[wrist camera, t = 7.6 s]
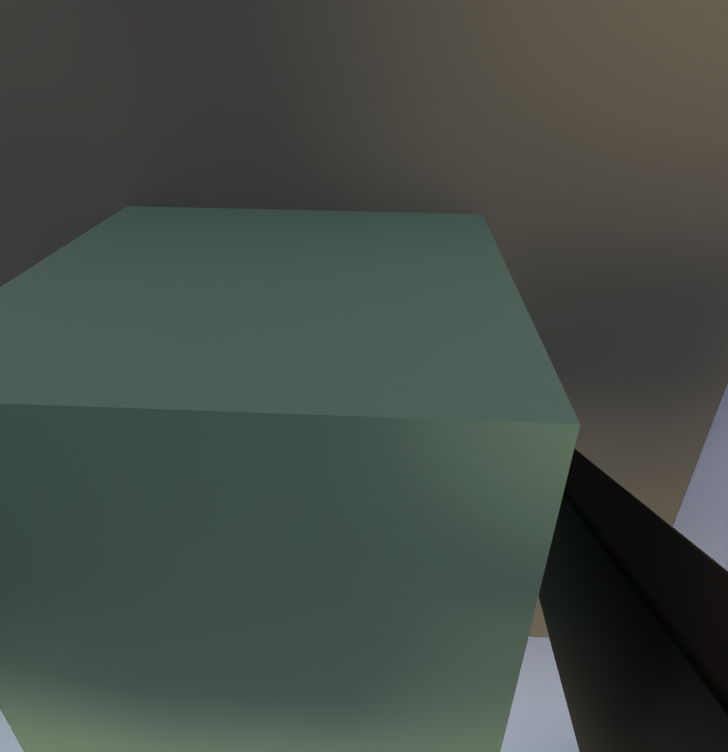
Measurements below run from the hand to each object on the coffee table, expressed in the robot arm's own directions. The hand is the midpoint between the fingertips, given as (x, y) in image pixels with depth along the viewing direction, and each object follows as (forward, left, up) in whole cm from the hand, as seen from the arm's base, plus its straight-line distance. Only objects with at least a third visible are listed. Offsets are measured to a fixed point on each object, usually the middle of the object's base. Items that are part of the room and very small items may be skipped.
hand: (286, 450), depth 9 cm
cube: (0, 0, -3) cm, 3 cm away
